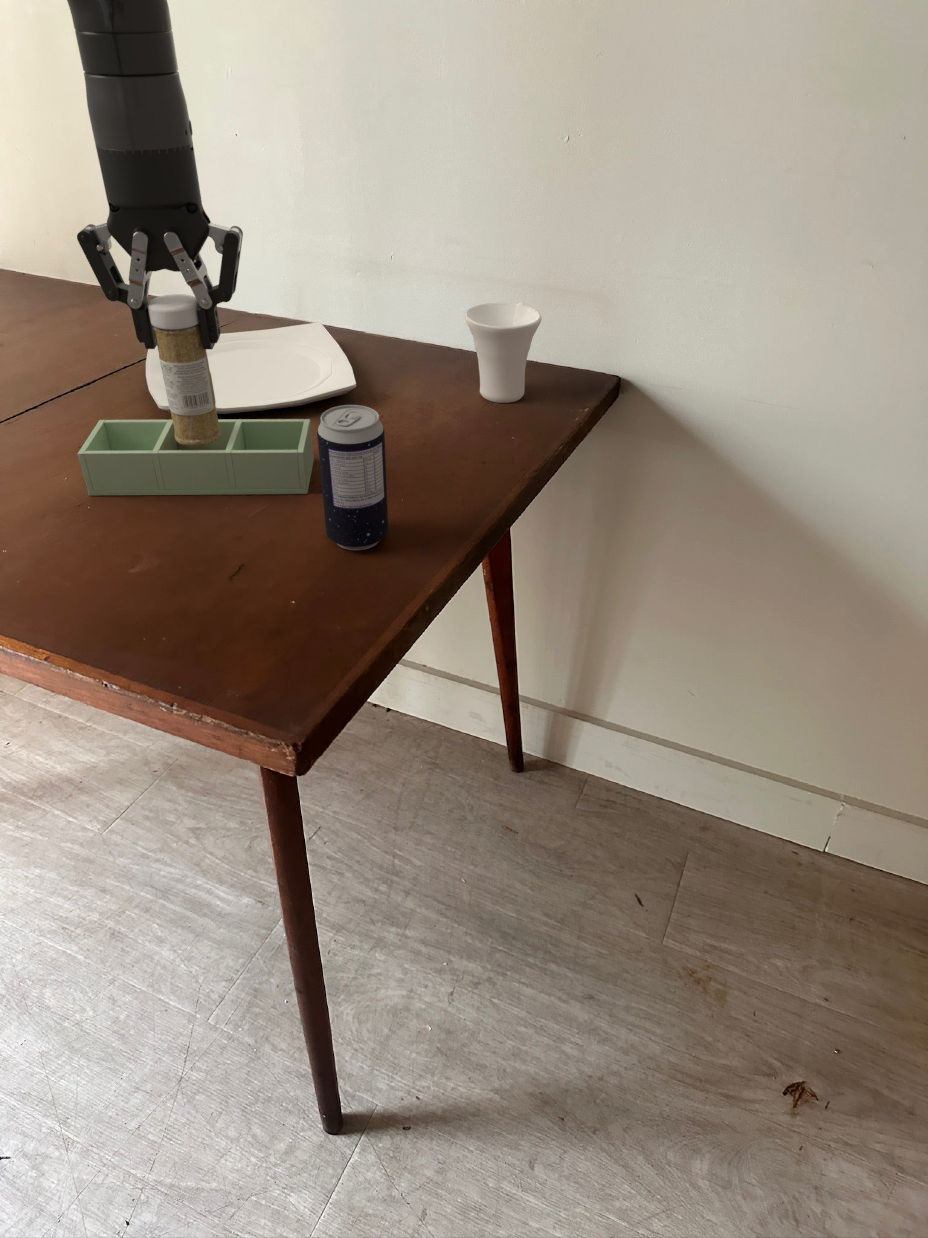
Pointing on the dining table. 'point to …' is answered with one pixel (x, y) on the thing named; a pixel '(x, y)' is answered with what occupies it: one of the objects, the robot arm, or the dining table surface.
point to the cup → (502, 347)
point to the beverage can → (353, 476)
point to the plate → (268, 369)
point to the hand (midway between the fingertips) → (181, 345)
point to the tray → (198, 459)
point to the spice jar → (185, 369)
